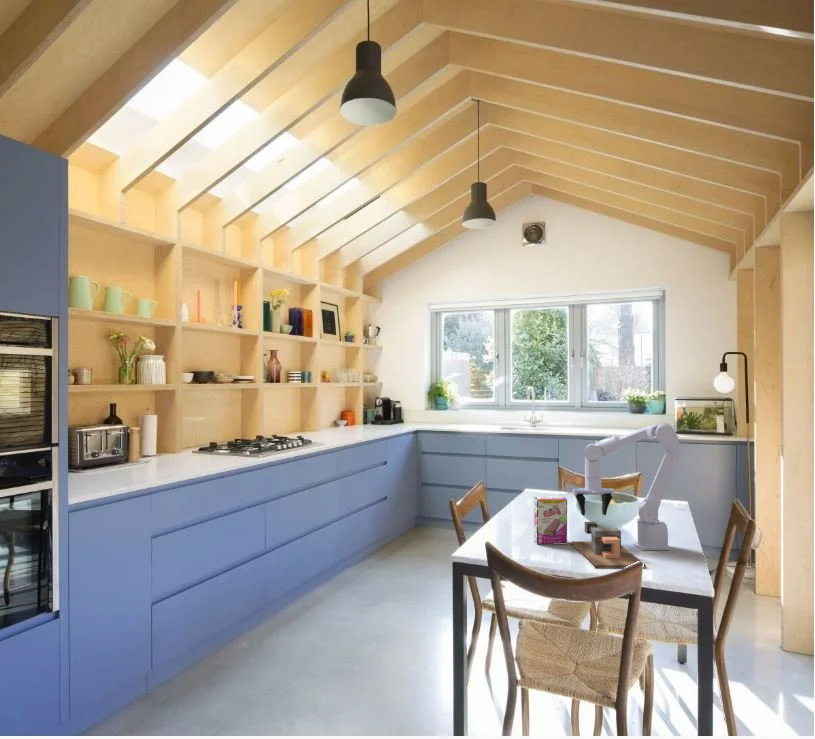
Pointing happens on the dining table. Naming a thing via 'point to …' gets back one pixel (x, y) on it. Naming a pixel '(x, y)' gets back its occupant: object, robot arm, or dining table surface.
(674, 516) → the dining table surface
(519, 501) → the dining table surface
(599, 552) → the bearing stand
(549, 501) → the candy bar box
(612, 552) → the spacer
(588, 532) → the shaft
